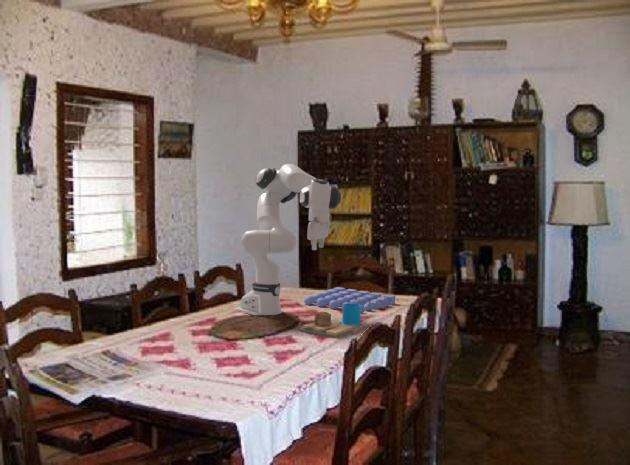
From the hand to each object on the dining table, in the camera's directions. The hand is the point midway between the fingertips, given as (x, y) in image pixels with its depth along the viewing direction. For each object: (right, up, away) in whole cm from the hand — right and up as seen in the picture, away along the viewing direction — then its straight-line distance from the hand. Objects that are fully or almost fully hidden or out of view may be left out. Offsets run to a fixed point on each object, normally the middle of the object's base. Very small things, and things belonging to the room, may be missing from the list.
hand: (317, 248), depth 300 cm
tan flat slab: (+1, -34, -4) cm, 34 cm away
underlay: (+4, -35, -6) cm, 36 cm away
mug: (+16, -34, +14) cm, 40 cm away
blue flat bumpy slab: (+16, -30, +54) cm, 64 cm away
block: (+2, -32, -5) cm, 33 cm away
